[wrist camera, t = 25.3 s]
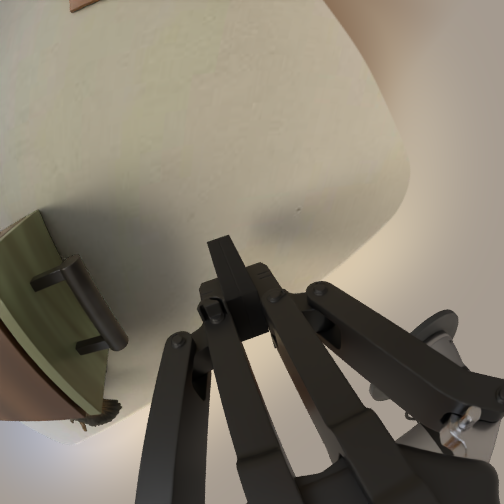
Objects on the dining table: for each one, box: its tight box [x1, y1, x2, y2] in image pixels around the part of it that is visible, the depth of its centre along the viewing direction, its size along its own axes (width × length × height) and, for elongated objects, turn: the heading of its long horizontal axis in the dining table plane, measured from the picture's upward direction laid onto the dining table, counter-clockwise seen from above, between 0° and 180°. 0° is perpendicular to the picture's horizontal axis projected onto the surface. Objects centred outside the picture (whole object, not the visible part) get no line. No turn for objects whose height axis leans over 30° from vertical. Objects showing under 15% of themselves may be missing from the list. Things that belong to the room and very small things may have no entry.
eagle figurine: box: [70, 371, 122, 431], centre depth 21 cm, size 8×7×9 cm
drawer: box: [0, 210, 129, 415], centre depth 14 cm, size 22×14×9 cm, turn 103°
